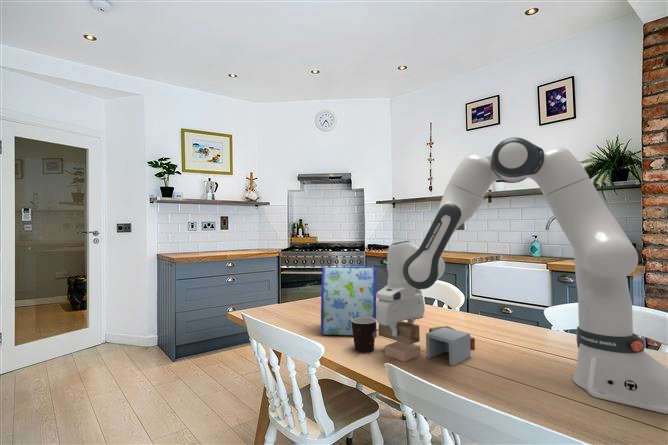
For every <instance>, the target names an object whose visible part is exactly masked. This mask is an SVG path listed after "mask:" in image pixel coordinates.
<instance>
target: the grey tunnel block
mask: <svg viewBox="0 0 668 445" xmlns="http://www.w3.org/2000/svg"><path fill="white" fill-rule="evenodd" d="M443 327H444V326H443ZM453 329H454V328H453ZM453 329H449V328H445V327H444V328H441V329H438V330H435V331H432V332H429V331H428V332H426V333H425V341H426V342H425V349H426V358H427V359H431V358H433V357H436V356H438V355H440V354H444V353H448V359H449V360H448V362H449V363H448V365H450V366H452V367H453V366H456V365H458V364H460V363H461V362H464V361H466V360H468V359H470V358H472V357H471V354H472V353H471V350H470V336H471V333H470V332H465V331H460V330H458V329H455V330H453Z"/></svg>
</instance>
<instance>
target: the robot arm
mask: <svg viewBox="0 0 668 445" xmlns="http://www.w3.org/2000/svg"><path fill="white" fill-rule="evenodd" d="M527 179H531V180H532V181H534V182H535V183H536V184H537V186H538V187H539V189H540V191H541V193H542V194H543V197H544V198H545V201H546V202H547V205H548V207H549V208H550V210H551V212H552V214H553V216H554V217H555V219H556V221H557V223H558V225H559V226H560V227H561V230H562V232H563V233H564V234H565V236H566V238H567V239H568V241H569V243H570V245H571V246H572V249H573V259H574V260H573V261H574V272H575V273H574V274H575V282H576V291H577V301H578V302H577V308H578V311H577V312H578V326H577V327H576V333H575V334H576V344H577V346H576V347H577V348H578V349H577V350H578V351H577V361H576V366H575V370H574V373H573V376H572V381H573V382H574V383H575V384H576V385H577V386H579V387H580V388H582V389H584V390H585V391H586V392H588V394H589V395H590V396H592V397H594V398H596V399H597V398H598V399H602V400H607V401H610V402H614V403H619V404H623V405H627V406H632V407H635V408H639V409H644V410H648V411H653V412H657V413H660V414H665V415H668V367H666V366H665V365H664V364H662V363H661V362H659V361H658V360H657V359H655V358H654V357H653V356H651V355H650V354H649V353H647V352H646V351H645V338H644V336H641V337H640V336H639V335H637V334H635V333H634V331H633V330H634V328H633V327H634V324H633V323H634V322H633V320H634V318H633V301H632V298H631V292H630V288H629V284H628V278H627V276H629V275H631V274H632V273H633V272H635V270H636V268H637V266H638V264H639V255H638V251H637V249H636V248H635V246H634V245H633V244H632V241H631V240H630V239H629V238H628V236H627V234H626V233H625V231H624V230H623V228H622V227H621V225H620V223H619V222H618V221H617V220H616V218H615V217H614V215H612V214H613V213H611V212H610V211H609V209H608V207H607V206H606V204H605V203H604V201H603V200H602V198H601V196H600V193H598V191H597V189H596V187H595V185H594V183H593V181H592V180H591V178H590V176H589V174H588V172H587V171H586V170H585V168H584V166H583V165H582V164H581V163H580V161H579V160H578V159H577V158H576V157H575V155H574V154H573V153H572V152H571V151H570V150H569V149H567V148H566V147H554V148H553V147H552V148H550V149H549V148H548V149H547V150H545V151H544V149H543V148H542V147H540V146H538V145H536V144H534V143H533V142H531V141H530V140H527V139H526V138H525V139H524V138H522V137H516V136H514V137H513V136H512V137H508V138H505V139H503V140H502V141H500V142H499V143H498V144H497V145H496V146H495V147H494V149H493V150H492V153H491V155H490V156H488V155H487V156H486V155H482V154H479V153H478V154H475V153H472V154H468V155H467V156H464V158H463V159H462V160H461V161H460V163H459V164H458V166H457V167H456V169H455V171H454V172H453V173H452V175H451V178H450V179H449V182H448V184H447V185H446V187H445V190H444V193H443V195H442V197H441V200H440V204H439V206H438V209H437V213H436V215H435V217H434V219H433V222H432V223H431V225H430V227H429V229H428V231H427V233H426V235H425V236H424V239H423V240H422V242H421V245H420V246H419V245H417V244H415V243H413V242H412V241H409V240H404V241H399V242H395V243H392V244H390V245H389V246H388V249H387V258H386V270H387V273H388V278H387V280H386V281H387V282H386V284H387V285H385V286H384V287H382V288H381V289H380V290H378V291H376V300H377V301H376V323H377V324H378V325H379V324H381V325H385V326H387V325H389V326H390V328H391V330H392V335H393V336H395V337H396V336H399V330H397V328H396V326H397V322H401V321H403V322H405V321H406V322H407V323H411V324H415V319H416V318H415V317H418V316H422V315H423V316H424V314H425V302H424V301H425V300H424V295H423V293H422V291H423V290H427V289H429V288H431V287H432V286H434V284H435V283H436V282H437V281H438V280H440V278H441V277H442V276H444V274H445V272H446V262H445V260H444V258H443V256H442V255H443V253H444V251H445V250H446V247H447V245H448V243H449V242H450V240H451V238H452V236H453V234H454V233H455V232H456V231H457V229H458V228H459V227H460V226H462V225H463V224H464V223H466V222H467V221H468V220H470V219H471V218H472V216H474V214H475V213H476V211H477V210H478V209H479V207H480V206H481V204H482V202H483V200H484V198H485V196H486V195H487V192H488V190H489V189H490V187H491V186H492V185H493V183H494V182H498V183H508V184H515V183H520V182H522V181H524V180H527ZM423 316H422V317H423Z"/></svg>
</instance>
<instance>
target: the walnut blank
mask: <svg viewBox="0 0 668 445" xmlns="http://www.w3.org/2000/svg"><path fill="white" fill-rule="evenodd" d="M396 328H397V330H399V336H396V337H395V336H393V335H392V330H391V328H390V326H389V325H387V326H385V325H381V324H379V323H378V336H379V337H383V338H386V339H389V340H393V341H395V342H397V341H398V342H402V343H405V344H408V345H411V344H417V343H419V342H420V341H421V340H420V338H421V337H420V336H421V335H420V325H418V324H415V323H413V324H411V323H407V321H401V322H397V326H396Z"/></svg>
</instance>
